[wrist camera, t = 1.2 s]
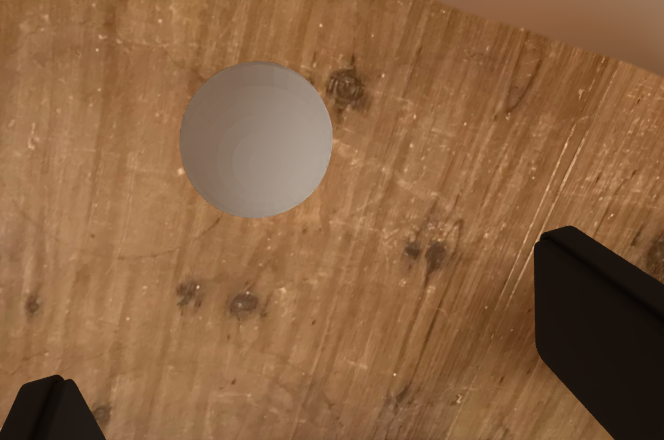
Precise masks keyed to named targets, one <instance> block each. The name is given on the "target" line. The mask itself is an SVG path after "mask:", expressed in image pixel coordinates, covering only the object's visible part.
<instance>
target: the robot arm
mask: <svg viewBox="0 0 664 440" xmlns="http://www.w3.org/2000/svg"><path fill="white" fill-rule="evenodd" d="M534 287H535V343H536V348H537V351H538V353H539V355H540V357H541V359H542V360H543V361H544V362H545V364H546V365H547V366H548V367H549V368H550V369H551V370H552V371H553V372H554V373H555V375H556V376H557V377H558V378H559V379H560V380H561V381H562V382H563V383H564V384H565V386H566V387H567V388H568V389H569V390H570V391H571V392H572V393H573V394H574V395H575V397H576V398H577V399H578V400H579V401H580V402H581V403H582V404H583V405H584V406H585V408H586V409H587V410H588V411H589V412H590V413H591V414H592V415H593V416H594V417H595V419H596V420H597V421H598V422H599V423H600V424H601V425H602V426H603V427H604V428H605V430H606V431H607V432H608V433H609V434H610V435H611V436H612V437H613V438H614V440H664V285H663V284H662V283H660V282H659V281H657V280H656V279H654V278H653V277H651V276H650V275H648V274H646V273H645V272H643V271H642V270H640V269H639V268H637V267H636V266H634V265H633V264H631V263H629V262H628V261H626V260H625V259H623V258H622V257H620V256H619V255H617V254H616V253H614V252H612V251H611V250H609V249H608V248H606V247H605V246H603V245H602V244H600V243H599V242H597V241H595V240H594V239H592V238H591V237H589V236H588V235H586V234H585V233H583V232H582V231H580V230H578V229H577V228H575V227H573V226H565V227H562V228H558V229H555V230H551V231H548V232H545V233H543V234H542V235H541V237H540V241H539V242H537V243H535V245H534ZM0 440H106V439H105V437H104V435H103V433H102V431H101V429H100V428H99V426H98V424H97V422H96V420H95V418H94V416H93V415H92V413H91V411H90V409H89V407H88V405H87V404H86V402H85V400H84V398H83V396H82V394H81V393H80V391H79V389H78V387H77V385H76V384H75V382H74V381H73V380H72V379H67V380H64V379H63V378H62V377H61V376H60V375H53V376H50V377H46V378H43V379H39V380H36V381H32V382H29V383H26V384H24V385H22V387H21V388H20V390H19V392H18V394H17V397H16V399H15V401H14V403H13V405H12V408H11V410H10V412H9V414H8V416H7V419H6V421H5V423H4V425H3V427H2V429H1V432H0Z"/></svg>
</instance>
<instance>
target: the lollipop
mask: <svg viewBox="0 0 664 440" xmlns="http://www.w3.org/2000/svg"><path fill="white" fill-rule="evenodd" d="M332 144H333V136H332V125H331V121H330V117H329V113H328V111H327V109H326V107H325V105H324V102H323V100H322V98H321V96H320V95H319V94H318V92H317V91H316V90H315V88H314V87H313V85H312V84H311V83H309V82H308V81H307V80H306V79H305V78H304V77H303V76H302V75H300V74H299V73H297V72H295V71H293V70H292V69H290V68H288V67H285V66H282V65H279V64H276V63H273V62H262V61H253V62H244V63H239V64H236V65H233V66H230V67H227V68H225V69H223V70H222V71H220V72H218V73H217V74H215V75H213V76H212V77H211V78H209V79H208V80H207V81H206V82H205V83H204V84H203V85H202V86H201V87H200V88H199V89H198V90H197V92H196V93H195V95H194V96H193V97H192V99H191V100H190V102H189V104H188V106H187V109H186V111H185V113H184V115H183V120H182V124H181V128H180V151H181V157H182V162H183V166H184V168H185V171H186V174H187V176H188V179H189V180H190V182H191V183H192V185H193V186H194V188H195V190H196V191H197V192H198V193H199V194H200V195H201V196H202V197H203V198H204V199H205V200H206V201H207V202H208V203H210V204H211V205H213V206H214V207H216V208H217V209H219V210H221V211H223V212H226V213H228V214H230V215H234V216H239V217H244V218H263V217H269V216H274V215H277V214H279V213H282V212H285V211H288V210H290V209H291V208H293V207H295V206H297V205H299V204H300V203H301V202H303V201H304V200H305V199H306V198H307V197H309V196H310V195H311V194H312V193H313V191H314V190H315V189H316V188H317V187H318V185H319V184H320V182H321V180H322V178H323V177H324V175H325V173H326V170H327V167H328V164H329V161H330V158H331V151H332Z"/></svg>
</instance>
